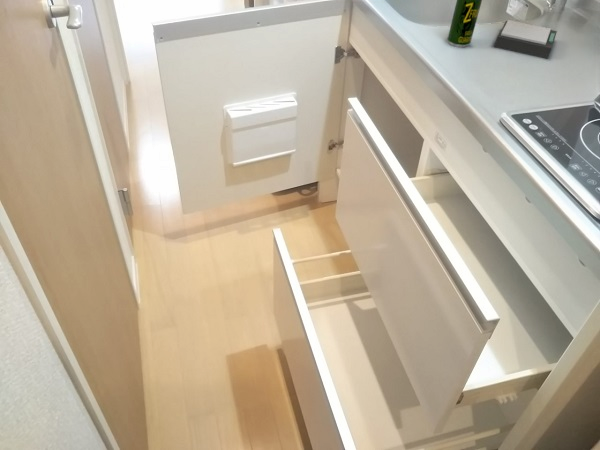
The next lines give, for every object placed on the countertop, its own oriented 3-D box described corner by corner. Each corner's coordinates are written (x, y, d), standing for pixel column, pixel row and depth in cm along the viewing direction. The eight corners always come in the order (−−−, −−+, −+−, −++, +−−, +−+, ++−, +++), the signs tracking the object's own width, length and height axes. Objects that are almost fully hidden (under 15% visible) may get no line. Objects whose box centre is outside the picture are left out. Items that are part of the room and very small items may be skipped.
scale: (553, 41, 125) (558, 28, 123) (547, 58, 118) (552, 45, 116) (502, 30, 129) (506, 18, 127) (494, 46, 122) (498, 33, 119)
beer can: (442, 40, 123) (454, -13, 115) (459, 36, 125) (472, -16, 117) (457, 49, 120) (470, -4, 111) (474, 45, 122) (489, -8, 113)
